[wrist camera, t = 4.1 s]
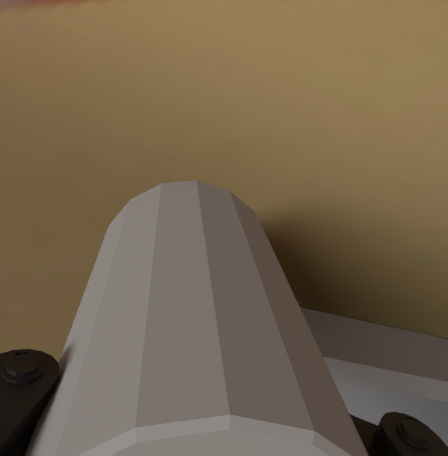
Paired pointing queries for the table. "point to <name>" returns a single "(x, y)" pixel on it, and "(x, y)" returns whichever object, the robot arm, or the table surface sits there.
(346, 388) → the box
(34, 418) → the robot arm
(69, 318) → the table surface
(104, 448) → the soap bottle
